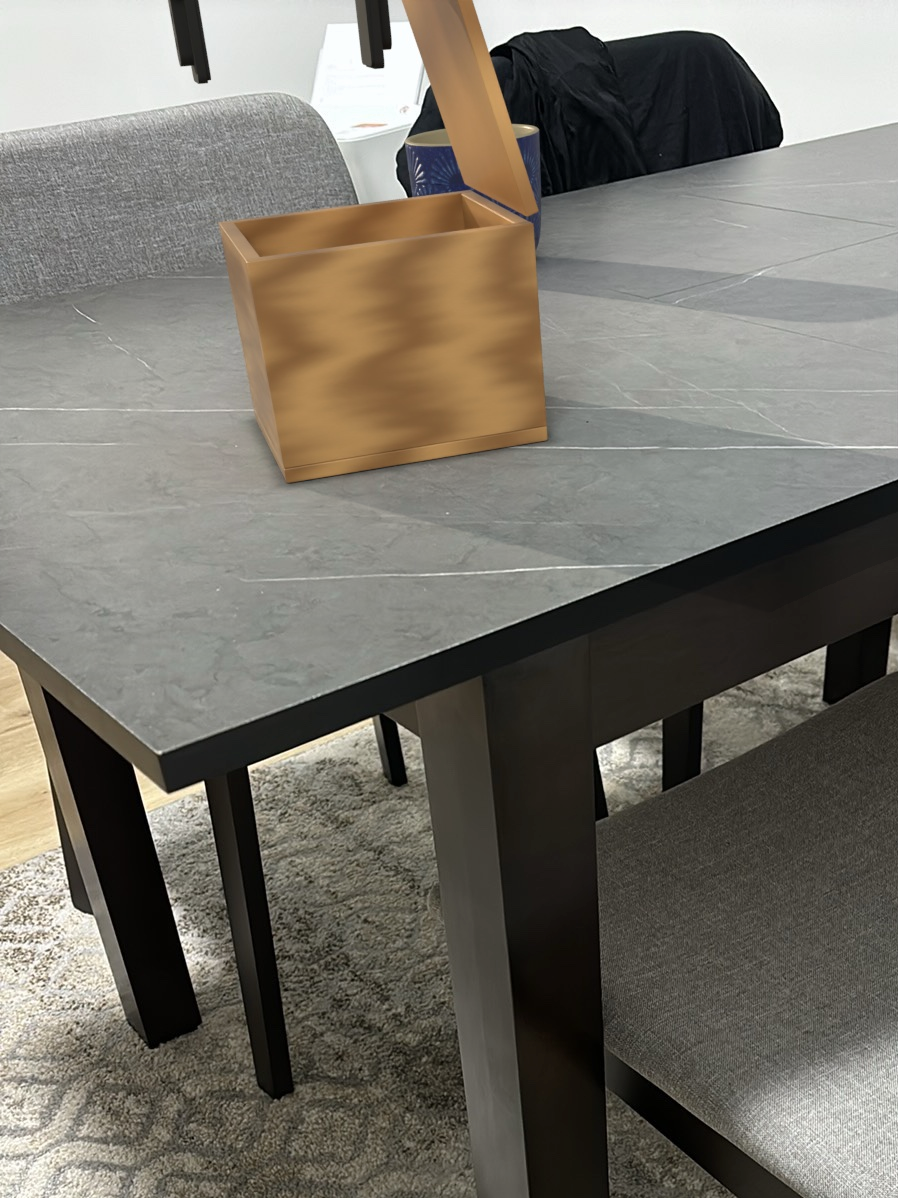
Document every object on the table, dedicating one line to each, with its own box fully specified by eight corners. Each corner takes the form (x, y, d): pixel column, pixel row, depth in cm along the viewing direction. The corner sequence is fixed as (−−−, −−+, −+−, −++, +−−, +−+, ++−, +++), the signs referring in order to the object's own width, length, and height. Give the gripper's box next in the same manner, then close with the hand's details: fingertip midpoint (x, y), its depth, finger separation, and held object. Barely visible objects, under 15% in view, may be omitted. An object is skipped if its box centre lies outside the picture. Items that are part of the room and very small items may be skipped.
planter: (408, 261, 138) (393, 134, 131) (528, 245, 140) (519, 119, 133) (433, 284, 128) (418, 149, 121) (562, 267, 130) (554, 133, 123)
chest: (286, 483, 85) (246, 261, 77) (255, 420, 96) (218, 222, 89) (548, 440, 88) (533, 223, 81) (488, 384, 100) (470, 189, 92)
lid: (408, -152, 69) (498, -194, 69) (354, -137, 81) (431, -173, 81) (527, 217, 80) (604, 180, 80) (464, 184, 92) (532, 152, 92)
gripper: (390, -334, 72) (424, 58, 82) (48, -326, 68) (127, 83, 79) (423, -361, 66) (455, 65, 76) (50, -353, 63) (136, 92, 73)
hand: (289, 74), depth 77 cm, fingers open, 9 cm apart
